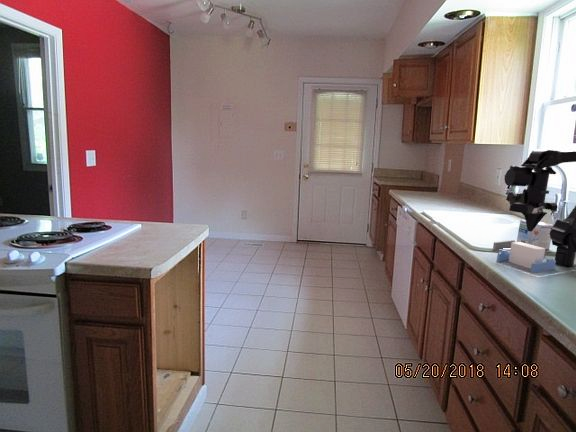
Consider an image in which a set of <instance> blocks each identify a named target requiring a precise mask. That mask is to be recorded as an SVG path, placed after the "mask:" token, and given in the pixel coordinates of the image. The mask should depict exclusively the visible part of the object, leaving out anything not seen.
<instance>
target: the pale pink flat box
mask: <svg viewBox="0 0 576 432" xmlns="http://www.w3.org/2000/svg"><path fill="white" fill-rule="evenodd" d="M544 253H545V254H546V252H545V248H542V247H538V246H534V245H530V244H527V243H523V242H517V241H515V242H512V243H511V249H510V255H509V261H508V262H511V263H514V264H517V265H521V266H524V267H527V268H530V269H531V265H532V263H537V262H544V258H545V257H544Z"/></svg>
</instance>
